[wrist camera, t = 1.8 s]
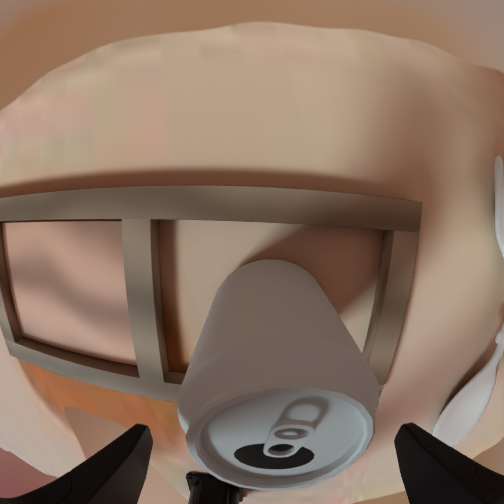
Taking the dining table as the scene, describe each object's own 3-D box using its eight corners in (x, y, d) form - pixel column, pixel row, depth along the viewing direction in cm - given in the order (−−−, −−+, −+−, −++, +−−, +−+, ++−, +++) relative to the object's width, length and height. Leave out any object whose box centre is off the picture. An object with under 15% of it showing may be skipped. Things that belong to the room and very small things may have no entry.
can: (208, 345, 19) (167, 486, 8) (222, 245, 18) (164, 344, 6) (308, 360, 20) (343, 498, 8) (335, 266, 18) (434, 371, 6)
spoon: (525, 168, 16) (548, 169, 13) (467, 423, 23) (478, 438, 19) (474, 155, 16) (501, 153, 13) (416, 444, 23) (425, 463, 20)
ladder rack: (371, 392, 20) (377, 402, 19) (17, 348, 21) (10, 354, 19) (410, 201, 17) (421, 202, 15) (-8, 199, 17) (-19, 200, 16)
